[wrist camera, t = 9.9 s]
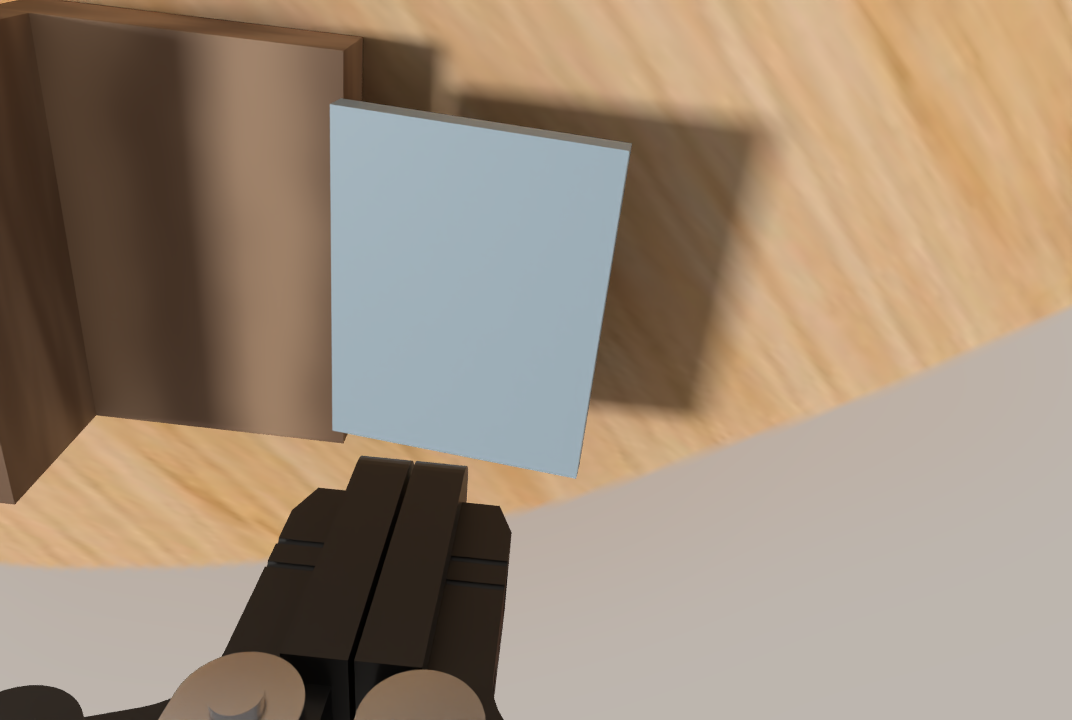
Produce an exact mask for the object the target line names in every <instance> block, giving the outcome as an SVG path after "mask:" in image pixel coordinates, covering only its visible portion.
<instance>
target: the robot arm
mask: <svg viewBox="0 0 1072 720" xmlns="http://www.w3.org/2000/svg"><path fill="white" fill-rule="evenodd" d="M467 482H468V467H467V466H459V465H450V464H440V463H430V462H420V461H416V462H415V464H414V462H413V461H408V460H398V459H389V458H379V457H369V456H361V457H360V458H359V460H358V462H357V464H356V467H355V469H354V471H353V474H352V476H351V479H350V481H349V484H348V486H347V489H346V491H345V490H335V489H325V488H318V489H317V490H315V491H314V492H313V493H312V494H311V495H309V496H308V497H307V498H306V499H305V500H304V501H302V502H301V503H300V504H299V505H298V506H297V507H295V508H294V509H293V510H292V511H291V514H290V516H289V518H288V520H287V522H286V524H285V526H284V528H283V530H282V532H281V534H280V537H279V542H278V544H276V545H275V547H274V549H273V551H272V553H271V555H270V557H269V560H268V565H267V567H265V568H264V570H263V572H262V574H261V576H260V578H259V580H258V582H257V585H256V587H255V589H254V591H253V593H252V595H251V597H250V599H249V602H248V603H247V605H246V608H245V610H244V612H243V614H242V616H241V618H240V620H239V622H238V624H237V626H236V628H235V631H234V633H233V635H232V637H231V639H230V641H229V643H228V645H227V647H226V649H225V651H224V653H223V655H222V657H220V658H217V659H215V660H213V661H210V662H208V663H207V664H205V665H203V666H202V667H200V668H198V669H197V670H196V671H195V672H193V673H192V674H191V675H189V676H188V678H186V679H185V681H183V682H182V683H181V685H180V686H179V688H178V689H177V690H176V692H175V693H174V695H173V696H172V698H171V699H168V700H165V701H163V702H160V703H157V704H153V705H150V706H145V707H141V708H134V709H129V710H123V711H118V712H111V713H106V714H100V715H94V716H88V717H84V716H83V712H82V709H81V707H80V705H79V703H78V702H77V700H75V698H74V697H72V696H71V695H70V694H68V693H66V692H65V691H63V690H61V689H58V688H54V687H50V686H43V685H29V686H22V687H15V688H11V689H7V690H4V691H1V692H0V720H503V718H502V716H501V714H500V713H499V711H498V709H497V706H496V703H495V700H494V694H495V685H496V677H497V668H498V661H499V652H500V643H501V636H502V628H503V619H504V611H505V599H506V588H507V576H508V566H509V565H508V564H509V554H510V543H511V530H510V528H509V526H508V524H507V522H506V519H505V517H504V515H503V513H502V510H501V508H500V506H493V505H484V504H474V503H466V501H467Z"/></svg>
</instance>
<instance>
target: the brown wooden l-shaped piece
mask: <svg viewBox="0 0 1072 720" xmlns="http://www.w3.org/2000/svg"><path fill="white" fill-rule="evenodd" d="M362 68H363V37H358V36H350V35H341V34H333V33H325V32H317V31H308V30H300V29H292V28H284V27H275V26H267V25H259V24H251V23H243V22H234V21H226V20H218V19H210V18H201V17H193V16H185V15H177V14H168V13H160V12H152V11H144V10H135V9H127V8H119V7H111V6H102V5H94V4H86V3H78V2H69V1H61V0H17V1H12V2H7V3H2V4H0V503H6V504H16V503H17V501H18V500H19V499H20V498H21V497H22V496H23V495H24V494H25V493H26V492H27V490H28V489H29V488H30V487H31V486H32V485H33V484H34V483H35V482H36V481H37V480H38V478H39V477H40V476H41V475H42V474H43V473H44V472H45V471H46V470H47V469H48V467H49V466H50V465H51V464H52V463H53V462H54V461H55V460H56V459H57V458H58V456H59V455H60V454H61V453H62V452H63V451H64V450H65V449H66V448H67V447H68V445H69V444H70V443H71V442H72V441H73V440H74V439H75V438H76V437H77V436H78V435H79V433H80V432H81V431H82V430H83V429H84V428H85V427H86V426H87V425H88V424H89V422H90V421H91V420H92V419H93V418H94V417H95V416H96V415H99V416H108V417H117V418H125V419H134V420H143V421H152V422H161V423H169V424H178V425H187V426H196V427H205V428H213V429H222V430H231V431H240V432H249V433H257V434H266V435H275V436H284V437H293V438H301V439H310V440H319V441H328V442H337V443H344V441H345V438H346V436H347V434H348V433H343V432H337V431H332V315H331V191H330V104H331V103H333V102H335V101H337V100H339V99H341V98H343V99H349V100H356V101H362Z"/></svg>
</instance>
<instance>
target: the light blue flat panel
mask: <svg viewBox="0 0 1072 720" xmlns="http://www.w3.org/2000/svg"><path fill="white" fill-rule="evenodd" d="M631 147H632V143H627V142H620V141H614V140H607V139H601V138H594V137H588V136H582V135H575V134H569V133H562V132H556V131H549V130H543V129H536V128H530V127H524V126H517V125H511V124H504V123H498V122H491V121H485V120H478V119H472V118H465V117H459V116H453V115H446V114H440V113H433V112H427V111H420V110H414V109H407V108H401V107H395V106H388V105H382V104H375V103H369V102H362V101H356V100H349V99H343V98H341V99H339V100H337V101H335V102H333V103H331V104H330V191H331V315H332V431H337V432H343V433H348V434H353V435H358V436H363V437H368V438H373V439H378V440H383V441H388V442H393V443H398V444H403V445H408V446H413V447H418V448H423V449H429V450H434V451H439V452H444V453H449V454H454V455H459V456H464V457H469V458H474V459H479V460H484V461H489V462H494V463H499V464H504V465H509V466H515V467H520V468H525V469H530V470H535V471H540V472H545V473H550V474H555V475H560V476H565V477H570V478H575V479H576V477H577V473H578V468H579V464H580V458H581V452H582V446H583V440H584V433H585V427H586V421H587V415H588V409H589V403H590V397H591V391H592V385H593V379H594V373H595V366H596V360H597V354H598V348H599V342H600V336H601V330H602V324H603V318H604V312H605V305H606V299H607V293H608V287H609V281H610V275H611V269H612V263H613V257H614V251H615V244H616V238H617V232H618V226H619V220H620V214H621V208H622V202H623V196H624V190H625V183H626V177H627V171H628V165H629V159H630V153H631Z"/></svg>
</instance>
